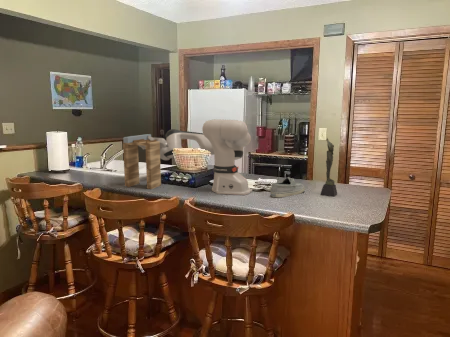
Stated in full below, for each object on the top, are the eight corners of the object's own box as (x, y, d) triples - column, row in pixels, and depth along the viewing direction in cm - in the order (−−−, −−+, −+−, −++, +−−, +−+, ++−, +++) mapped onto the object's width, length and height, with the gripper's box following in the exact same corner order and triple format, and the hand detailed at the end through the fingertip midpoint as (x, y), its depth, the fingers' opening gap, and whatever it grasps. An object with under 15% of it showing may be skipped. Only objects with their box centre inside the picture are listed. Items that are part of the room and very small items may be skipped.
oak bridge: (160, 185, 212) (159, 139, 207) (151, 189, 203) (149, 141, 198) (135, 183, 218) (133, 138, 213) (125, 186, 209) (122, 140, 204)
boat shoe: (308, 191, 199) (309, 175, 197) (283, 200, 181) (283, 182, 179) (293, 188, 205) (294, 173, 204) (267, 196, 187) (268, 180, 186)
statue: (334, 196, 187) (337, 139, 181) (320, 195, 190) (322, 138, 185) (337, 193, 193) (340, 138, 188) (323, 192, 196) (326, 137, 191)
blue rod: (151, 139, 220) (151, 134, 219) (128, 142, 198) (127, 137, 198) (147, 139, 221) (146, 134, 220) (123, 142, 200) (123, 137, 199)
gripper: (169, 151, 223) (158, 142, 211) (141, 149, 230) (129, 140, 218) (171, 142, 225) (160, 132, 213) (143, 140, 232) (131, 131, 220)
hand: (144, 136), depth 215 cm, fingers closed on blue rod, 3 cm apart
